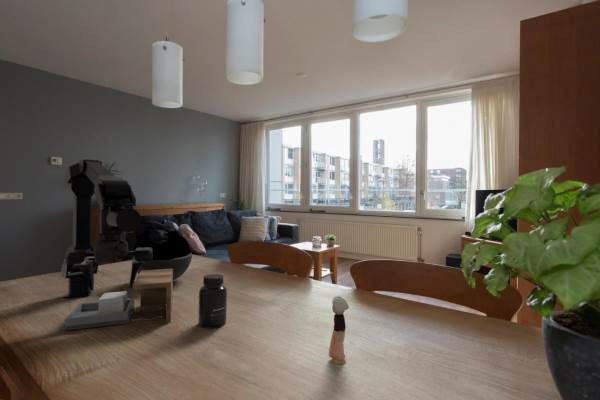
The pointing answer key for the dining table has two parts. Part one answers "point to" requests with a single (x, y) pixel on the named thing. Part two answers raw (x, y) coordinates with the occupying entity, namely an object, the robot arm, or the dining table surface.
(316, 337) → the dining table surface
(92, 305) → the tray
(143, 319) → the rails
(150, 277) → the shelf
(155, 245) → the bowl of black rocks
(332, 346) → the grandmother figurine
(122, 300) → the small box
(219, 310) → the supplement bottle
